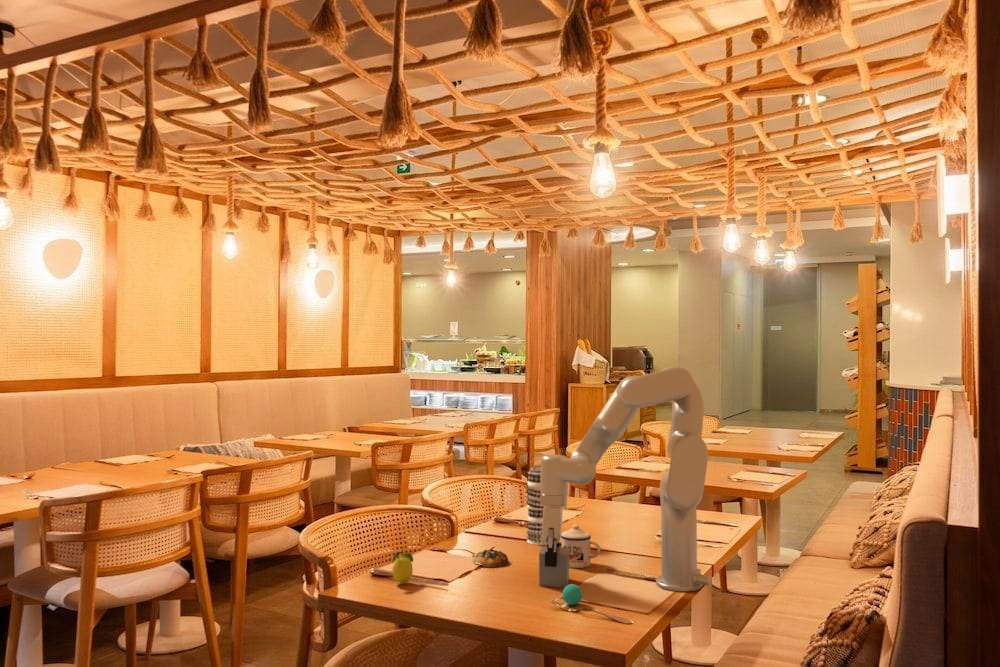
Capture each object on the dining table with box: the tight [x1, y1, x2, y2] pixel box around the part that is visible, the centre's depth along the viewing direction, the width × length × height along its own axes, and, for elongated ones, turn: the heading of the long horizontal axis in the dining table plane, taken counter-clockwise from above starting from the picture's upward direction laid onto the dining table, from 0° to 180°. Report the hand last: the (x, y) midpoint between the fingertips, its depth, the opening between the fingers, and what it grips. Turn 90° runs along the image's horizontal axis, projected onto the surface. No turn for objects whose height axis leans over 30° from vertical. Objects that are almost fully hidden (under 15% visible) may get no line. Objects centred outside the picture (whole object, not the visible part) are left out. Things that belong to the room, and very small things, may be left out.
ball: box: [562, 583, 583, 606], centre depth 189 cm, size 5×5×5 cm
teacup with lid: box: [560, 524, 601, 569], centre depth 226 cm, size 12×9×12 cm
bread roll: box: [472, 548, 509, 568], centre depth 228 cm, size 11×11×5 cm
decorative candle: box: [525, 466, 547, 546], centre depth 254 cm, size 9×9×25 cm
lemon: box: [391, 547, 414, 585], centre depth 206 cm, size 7×6×10 cm
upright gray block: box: [538, 545, 570, 588], centre depth 208 cm, size 8×8×9 cm
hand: (552, 561), depth 208 cm, fingers open, 9 cm apart
